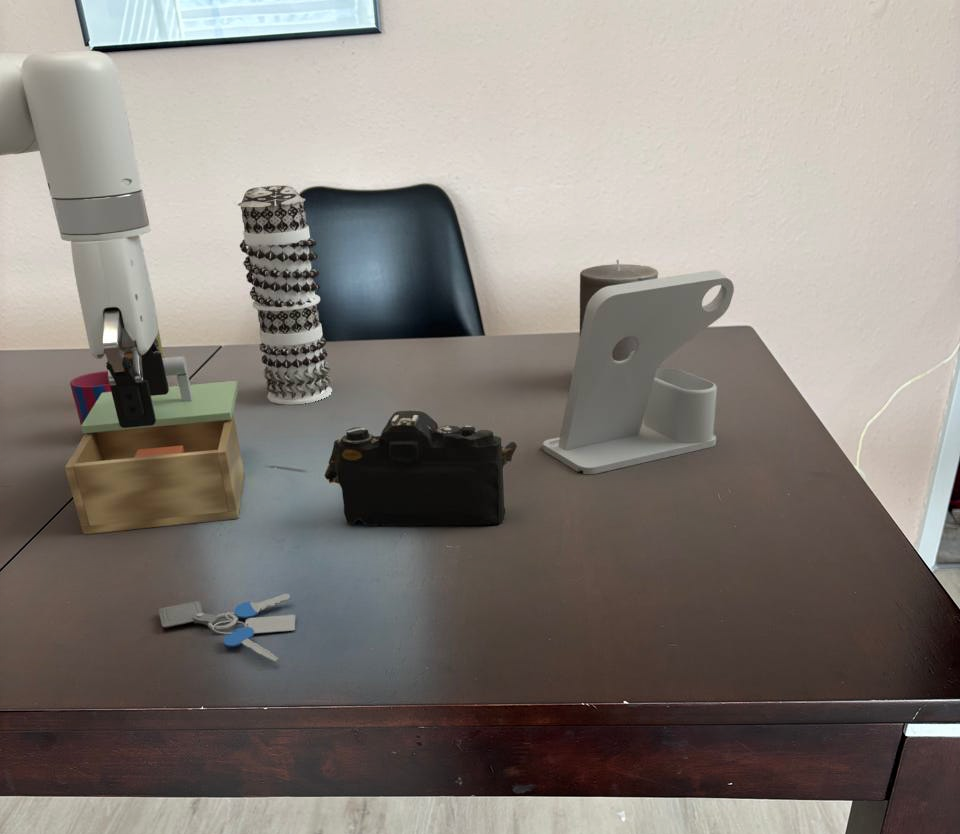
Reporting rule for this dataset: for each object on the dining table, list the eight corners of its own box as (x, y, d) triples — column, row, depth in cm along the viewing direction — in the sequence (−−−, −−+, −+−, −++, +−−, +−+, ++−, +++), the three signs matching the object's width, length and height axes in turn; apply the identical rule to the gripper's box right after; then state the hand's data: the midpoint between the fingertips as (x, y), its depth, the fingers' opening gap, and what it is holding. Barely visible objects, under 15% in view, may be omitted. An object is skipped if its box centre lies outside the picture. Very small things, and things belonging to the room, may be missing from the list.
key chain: (142, 624, 78) (140, 615, 77) (217, 581, 84) (215, 572, 83) (275, 668, 71) (273, 658, 71) (346, 618, 77) (345, 608, 77)
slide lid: (82, 433, 98) (68, 380, 95) (103, 399, 108) (91, 351, 105) (231, 419, 99) (221, 367, 97) (238, 387, 109) (229, 339, 106)
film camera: (496, 474, 102) (493, 379, 97) (527, 521, 91) (524, 417, 86) (324, 496, 99) (311, 399, 94) (335, 547, 89) (321, 441, 83)
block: (140, 508, 97) (130, 465, 94) (147, 491, 100) (137, 449, 98) (187, 503, 97) (177, 460, 95) (191, 487, 101) (183, 444, 99)
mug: (137, 421, 123) (124, 367, 120) (150, 444, 115) (137, 387, 112) (81, 431, 121) (67, 376, 117) (91, 455, 113) (75, 397, 110)
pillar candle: (563, 383, 129) (562, 262, 121) (613, 366, 134) (615, 250, 126) (620, 397, 122) (623, 270, 115) (670, 379, 128) (676, 257, 120)
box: (83, 534, 94) (64, 467, 90) (104, 489, 104) (88, 427, 100) (238, 518, 95) (225, 451, 92) (244, 475, 105) (233, 413, 102)
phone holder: (670, 419, 114) (679, 255, 105) (725, 444, 106) (739, 269, 97) (538, 447, 108) (535, 276, 99) (586, 476, 100) (587, 293, 91)
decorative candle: (304, 409, 124) (273, 193, 112) (250, 400, 129) (214, 192, 116) (349, 389, 131) (324, 183, 118) (296, 381, 135) (267, 182, 122)
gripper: (77, 207, 92) (120, 387, 101) (34, 235, 78) (88, 443, 86) (159, 201, 93) (194, 381, 102) (131, 228, 78) (175, 435, 87)
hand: (146, 409), depth 94 cm, fingers open, 9 cm apart
